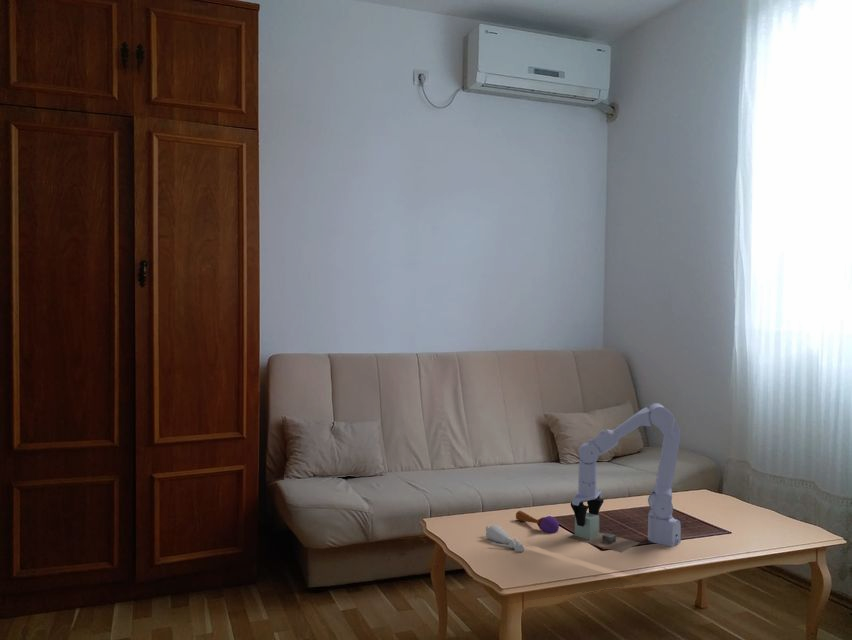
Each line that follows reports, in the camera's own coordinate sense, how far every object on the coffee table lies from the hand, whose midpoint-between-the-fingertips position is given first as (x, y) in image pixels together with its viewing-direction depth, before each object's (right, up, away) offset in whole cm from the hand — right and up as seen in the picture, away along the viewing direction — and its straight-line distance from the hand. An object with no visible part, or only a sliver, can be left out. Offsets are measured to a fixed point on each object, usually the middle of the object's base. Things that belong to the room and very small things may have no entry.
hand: (586, 523), depth 226 cm
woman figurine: (-27, -6, -5) cm, 28 cm away
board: (+4, -5, -4) cm, 8 cm away
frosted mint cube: (0, -4, 0) cm, 4 cm away
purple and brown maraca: (-14, -5, +11) cm, 19 cm away
